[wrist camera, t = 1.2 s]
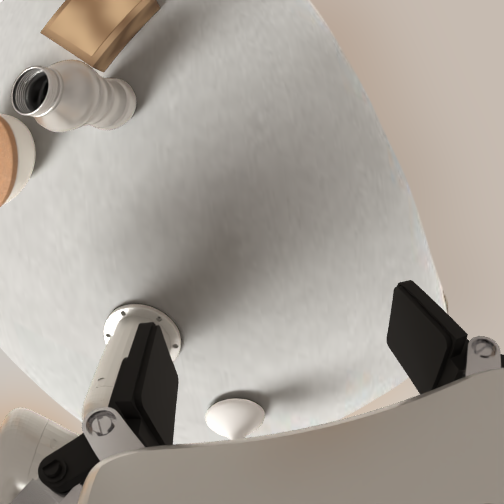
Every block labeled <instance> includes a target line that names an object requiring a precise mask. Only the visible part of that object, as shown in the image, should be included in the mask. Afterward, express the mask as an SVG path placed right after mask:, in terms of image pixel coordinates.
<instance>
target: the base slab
mask: <svg viewBox="0 0 504 504" xmlns="http://www.w3.org/2000/svg"><path fill="white" fill-rule="evenodd" d="M159 9H160V7H159V5H158V3H157V1H156V0H66V1H65V2H64V3H63V4H62V5H61V7H60V8H59V9H58V10H57V11H56V13H55V14H54V15H53V16H52V18H51V19H50V20H49V22H48V23H47V24H46V25H45V27H44V28H43V30H42V31H41V32H40V33H41V34H43V35H45V36H46V37H48V38H49V39H51V40H52V41H54V42H55V43H57V44H59V45H60V46H62V47H63V48H65V49H66V50H68V51H69V52H71V53H72V54H74V55H75V56H77V57H78V58H80V59H81V60H83V61H84V62H86V63H87V64H89V65H90V66H91V67H93V68H95V69H98V70H100V71H102V72H105V70H106V69H107V68H108V66H109V65H110V64H111V63H112V61H113V60H114V59H115V58H116V56H117V55H118V54H119V53H120V52H121V50H122V49H123V48H124V47H125V46H126V44H127V43H128V42H129V41H130V40H131V39H132V38H133V36H134V35H135V34H136V33H137V32H138V31H139V30H140V29H141V28H142V27H143V26H144V25H145V23H146V22H147V21H148V20H149V19H150V18H151V17H152V16H153V15H154V14H155V13H156V12H157V11H158V10H159Z"/></svg>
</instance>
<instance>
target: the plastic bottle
mask: <svg viewBox="0 0 504 504" xmlns="http://www.w3.org/2000/svg"><path fill="white" fill-rule="evenodd" d="M11 103H12V106H13V108H14V110H15V111H16V112H17V113H19V114H21V115H24V116H31V117H34V118H35V120H36V121H37V122H38V123H39V124H40V125H41V126H42V127H44V128H46V129H48V130H50V131H53V132H66V131H70V130H74V129H77V128H79V127H82V126H86V125H91V126H93V127H95V128H98V129H101V130H113V129H116V128H119V127H120V126H122V125H124V124H125V123H127V122H128V121H129V120H130V118H131V117H132V116H133V114H134V112H135V109H136V103H137V102H136V96H135V93H134V91H133V89H132V88H131V86H130V85H129V84H128V83H126V82H125V81H123V80H121V79H117V78H103V77H102V76H100V75H99V74H98V73H97V72H96V71H95V70H93V68H91V67H90V66H88V65H87V64H85V63H84V62H81V61H78V60H65V61H60V62H57V63H55V64H53V65H51V66H49V67H41V66H33V67H30V68H27V69H26V70H24V71H23V72H22V73H21V74H20V75H19V76H18V77H17V79H16V80H15V82H14V85H13V87H12V91H11Z"/></svg>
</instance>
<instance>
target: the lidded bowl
mask: <svg viewBox="0 0 504 504" xmlns="http://www.w3.org/2000/svg"><path fill="white" fill-rule="evenodd" d="M34 164H35V144H34V140H33V137H32V135H31V133H30V131H29V129H28V128H27V126H26V125H25V124H24V123H23V122H21V121H20V120H19V119H17V118H15V117H13V116H10V115H6V114H0V207H1V206H2V205H4V204H6V203H8V202H9V201H11V200H12V199H13V198H15V197H16V196H17V195H18V194H19V193H20V192H21V191H22V190H23V189H24V187H25V186H26V184H27V183H28V181H29V179H30V177H31V175H32V172H33V168H34Z"/></svg>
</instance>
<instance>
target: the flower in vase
mask: <svg viewBox="0 0 504 504" xmlns="http://www.w3.org/2000/svg"><path fill="white" fill-rule="evenodd" d="M264 418H265V412H264V410H263V409H262V408H261V407H260V406H259V405H258V404H256V403H255V402H253V401H250V400H246V399H238V398H235V399H226V400H222V401H220V402H217V403H215V404H214V405H212V406H211V407H210V408H209V409H208V410H207V412H206V414H205V420H206V423H207V425H208V426H209V427H210V428H211V429H212V430H213V431H215V432H216V433H218V434H220V435H222V436H225V437H228V438H229V439H230V440H234V439H242V438H245V437H246V436H247V435H249V434H251V433H253V432H254V431H256V430H257V429H258V428H259V427H260V426H261V425H262V423H263V421H264Z"/></svg>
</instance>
